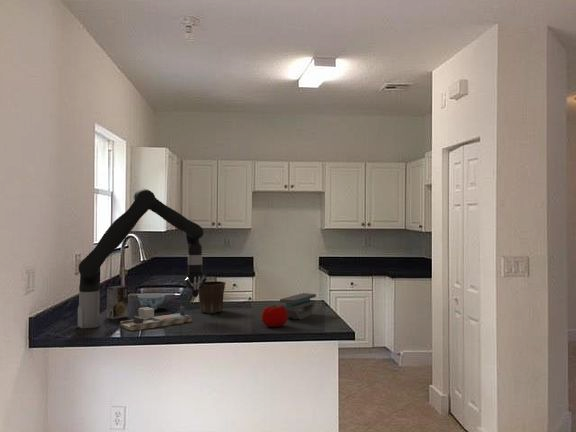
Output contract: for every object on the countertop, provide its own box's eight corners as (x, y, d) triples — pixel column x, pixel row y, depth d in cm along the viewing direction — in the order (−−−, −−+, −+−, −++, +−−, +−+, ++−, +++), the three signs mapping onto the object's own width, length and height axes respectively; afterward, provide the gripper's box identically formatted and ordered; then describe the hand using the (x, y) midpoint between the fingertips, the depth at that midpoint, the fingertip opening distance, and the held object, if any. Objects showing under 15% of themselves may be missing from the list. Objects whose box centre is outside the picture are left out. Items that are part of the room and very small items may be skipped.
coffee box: (121, 315, 281) (121, 285, 281) (128, 316, 277) (128, 286, 277) (106, 317, 274) (106, 287, 274) (113, 319, 270) (113, 288, 270)
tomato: (290, 328, 248) (290, 306, 248) (264, 329, 245) (264, 307, 245) (283, 323, 259) (283, 303, 259) (259, 325, 255) (259, 304, 255)
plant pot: (200, 315, 281) (200, 285, 281) (193, 310, 296) (193, 282, 296) (229, 313, 288) (229, 283, 288) (220, 308, 302) (220, 280, 302)
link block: (144, 321, 264) (144, 309, 264) (138, 319, 269) (138, 308, 269) (153, 320, 267) (153, 308, 267) (147, 318, 272) (147, 306, 272)
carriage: (160, 322, 254) (160, 311, 254) (152, 319, 261) (152, 309, 261) (189, 318, 265) (189, 307, 265) (180, 315, 272) (180, 305, 272)
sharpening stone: (303, 312, 289) (303, 293, 289) (315, 314, 285) (315, 294, 285) (280, 320, 267) (280, 299, 267) (293, 321, 263) (293, 300, 263)
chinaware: (149, 312, 290) (149, 298, 290) (132, 309, 299) (132, 296, 299) (170, 308, 302) (170, 295, 302) (153, 306, 311) (153, 293, 311)
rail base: (131, 330, 242) (131, 321, 242) (119, 326, 252) (119, 317, 252) (191, 321, 263) (191, 312, 263) (178, 318, 273) (178, 309, 273)
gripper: (187, 264, 265) (187, 298, 265) (209, 263, 274) (210, 296, 274) (180, 263, 271) (180, 297, 271) (202, 262, 279) (202, 294, 279)
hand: (195, 296), depth 272 cm, fingers closed
